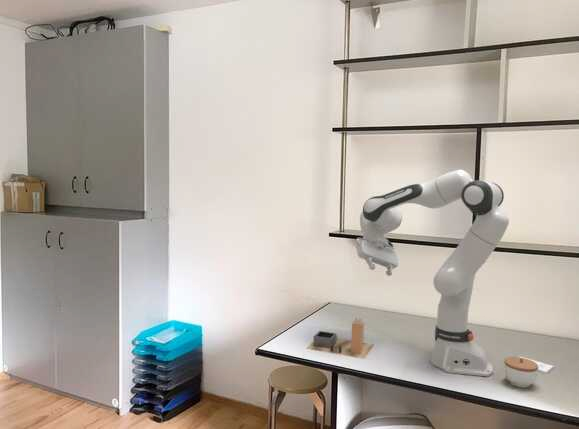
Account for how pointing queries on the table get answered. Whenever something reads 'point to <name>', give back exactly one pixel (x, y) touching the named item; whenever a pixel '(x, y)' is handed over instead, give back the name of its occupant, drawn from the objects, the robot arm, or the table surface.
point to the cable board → (343, 348)
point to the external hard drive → (542, 366)
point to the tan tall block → (357, 336)
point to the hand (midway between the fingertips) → (381, 271)
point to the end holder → (325, 339)
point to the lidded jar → (520, 371)
